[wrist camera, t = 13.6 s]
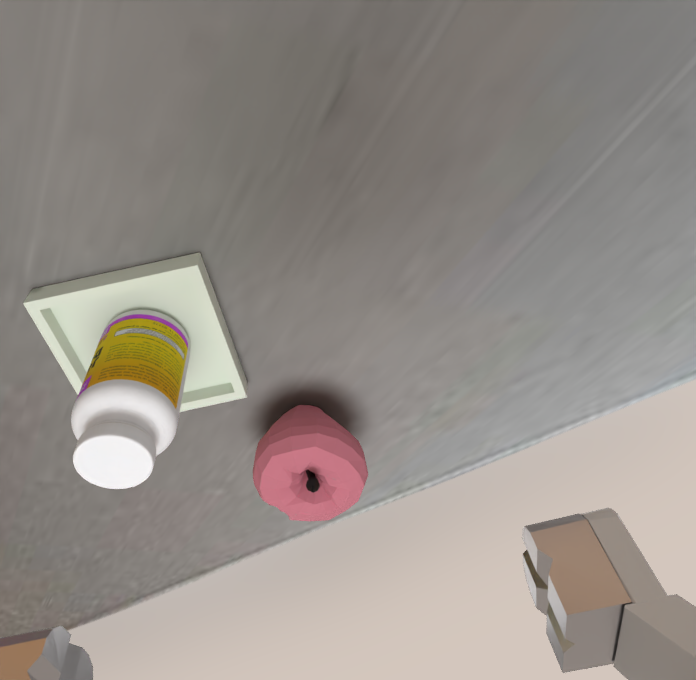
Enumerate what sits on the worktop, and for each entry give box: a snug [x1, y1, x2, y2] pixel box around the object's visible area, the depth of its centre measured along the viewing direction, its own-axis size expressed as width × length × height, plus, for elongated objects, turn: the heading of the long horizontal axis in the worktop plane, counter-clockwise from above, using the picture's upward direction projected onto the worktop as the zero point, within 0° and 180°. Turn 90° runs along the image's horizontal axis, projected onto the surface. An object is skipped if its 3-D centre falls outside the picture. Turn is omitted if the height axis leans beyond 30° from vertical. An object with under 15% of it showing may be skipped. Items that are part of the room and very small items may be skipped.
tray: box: [23, 252, 247, 412], centre depth 46 cm, size 13×13×2 cm
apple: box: [253, 405, 368, 521], centre depth 50 cm, size 10×9×10 cm
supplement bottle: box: [71, 310, 190, 489], centre depth 41 cm, size 7×7×13 cm
